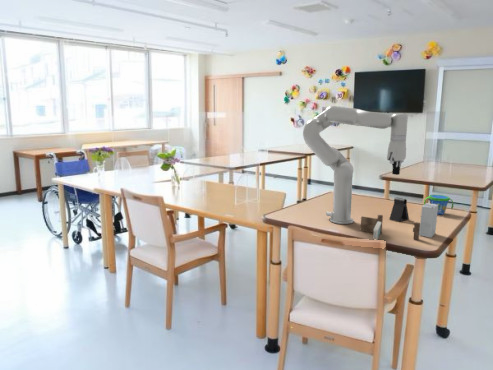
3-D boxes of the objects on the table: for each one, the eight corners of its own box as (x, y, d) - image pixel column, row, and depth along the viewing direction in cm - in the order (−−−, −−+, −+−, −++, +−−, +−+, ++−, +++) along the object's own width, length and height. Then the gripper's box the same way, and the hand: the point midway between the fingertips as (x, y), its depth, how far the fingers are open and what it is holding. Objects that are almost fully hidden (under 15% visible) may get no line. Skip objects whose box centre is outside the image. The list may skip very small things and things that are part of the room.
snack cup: (452, 212, 243) (453, 195, 241) (453, 217, 234) (454, 199, 232) (423, 210, 249) (424, 193, 248) (423, 214, 240) (424, 197, 238)
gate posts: (360, 230, 209) (360, 213, 207) (362, 229, 212) (363, 211, 210) (417, 240, 193) (419, 221, 192) (419, 238, 196) (420, 220, 195)
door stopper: (398, 222, 224) (399, 200, 222) (389, 219, 229) (390, 198, 227) (409, 219, 229) (410, 198, 227) (399, 217, 234) (401, 196, 232)
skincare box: (423, 231, 207) (425, 202, 204) (436, 233, 204) (438, 204, 201) (418, 235, 200) (421, 205, 198) (432, 238, 197) (434, 207, 194)
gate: (376, 233, 204) (377, 221, 203) (380, 233, 203) (381, 221, 202) (372, 241, 191) (373, 229, 190) (376, 242, 190) (377, 229, 189)
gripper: (400, 137, 217) (397, 172, 221) (383, 138, 208) (380, 174, 212) (413, 138, 211) (410, 173, 215) (396, 139, 202) (393, 176, 206)
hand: (395, 174), depth 213 cm, fingers closed
